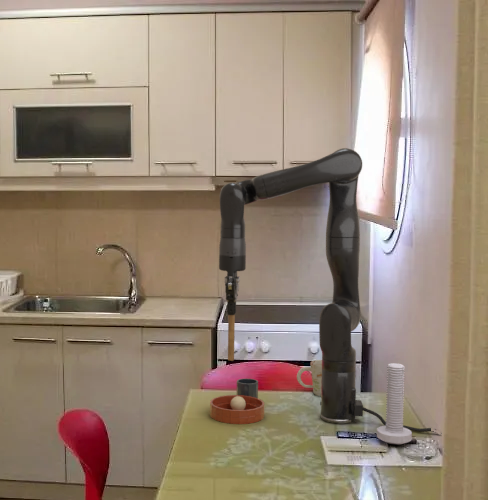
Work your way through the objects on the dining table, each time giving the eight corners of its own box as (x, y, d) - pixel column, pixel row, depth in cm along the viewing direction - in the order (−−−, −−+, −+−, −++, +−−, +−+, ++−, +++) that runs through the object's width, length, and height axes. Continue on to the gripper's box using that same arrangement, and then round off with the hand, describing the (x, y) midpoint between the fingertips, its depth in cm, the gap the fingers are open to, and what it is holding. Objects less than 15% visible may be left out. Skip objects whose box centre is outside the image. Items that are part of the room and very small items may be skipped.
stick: (234, 359, 199) (235, 297, 197) (233, 360, 197) (234, 298, 196) (228, 359, 199) (228, 297, 198) (227, 360, 197) (228, 298, 196)
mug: (336, 398, 214) (337, 366, 214) (295, 396, 217) (296, 364, 216) (336, 391, 222) (337, 360, 222) (297, 389, 225) (297, 358, 224)
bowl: (265, 410, 202) (265, 396, 201) (262, 427, 187) (263, 412, 186) (213, 407, 204) (213, 393, 204) (207, 424, 189) (207, 409, 189)
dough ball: (246, 409, 201) (246, 394, 200) (245, 414, 196) (245, 399, 196) (231, 408, 201) (231, 394, 201) (229, 413, 197) (229, 398, 197)
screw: (400, 435, 181) (402, 360, 179) (418, 447, 172) (420, 368, 171) (370, 438, 179) (372, 361, 177) (387, 449, 170) (389, 369, 169)
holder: (258, 401, 211) (258, 378, 210) (257, 407, 204) (257, 384, 204) (237, 400, 212) (237, 378, 211) (235, 406, 205) (235, 383, 205)
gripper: (222, 251, 203) (221, 309, 204) (216, 255, 190) (215, 317, 191) (247, 252, 202) (246, 310, 203) (243, 255, 188) (242, 318, 190)
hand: (231, 313), depth 197 cm, fingers closed on stick, 2 cm apart
